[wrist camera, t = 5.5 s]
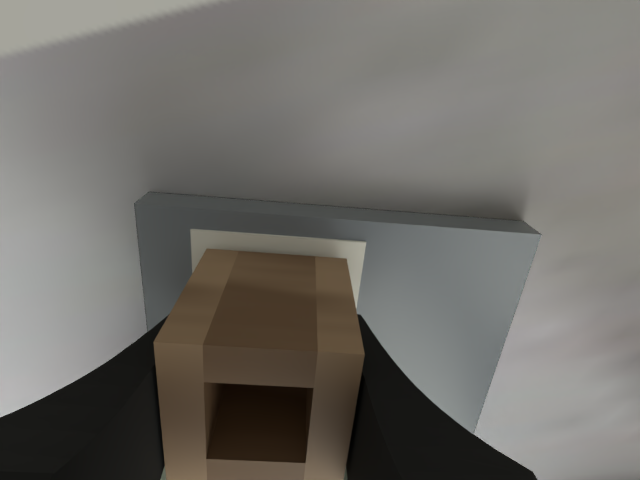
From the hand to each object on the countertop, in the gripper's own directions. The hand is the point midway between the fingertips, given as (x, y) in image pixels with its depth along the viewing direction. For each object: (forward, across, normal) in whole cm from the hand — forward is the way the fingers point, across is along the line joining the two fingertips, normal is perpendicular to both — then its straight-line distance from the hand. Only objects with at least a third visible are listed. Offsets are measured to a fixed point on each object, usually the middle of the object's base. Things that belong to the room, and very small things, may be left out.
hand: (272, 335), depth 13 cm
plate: (+3, -2, +5) cm, 6 cm away
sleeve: (+1, 0, 0) cm, 1 cm away
